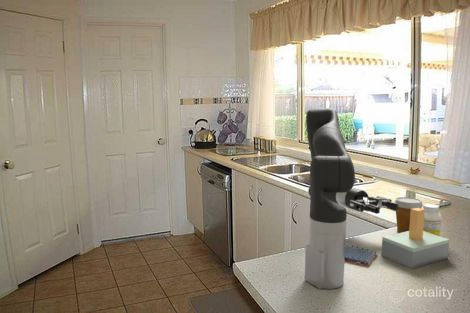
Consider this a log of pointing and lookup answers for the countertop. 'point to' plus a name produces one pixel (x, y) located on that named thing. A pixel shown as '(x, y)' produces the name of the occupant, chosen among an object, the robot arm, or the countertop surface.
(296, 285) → the countertop surface
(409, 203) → the disposable coffee cup
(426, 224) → the supplement bottle
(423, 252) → the parts tub
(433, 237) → the lid
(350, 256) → the woven mat
